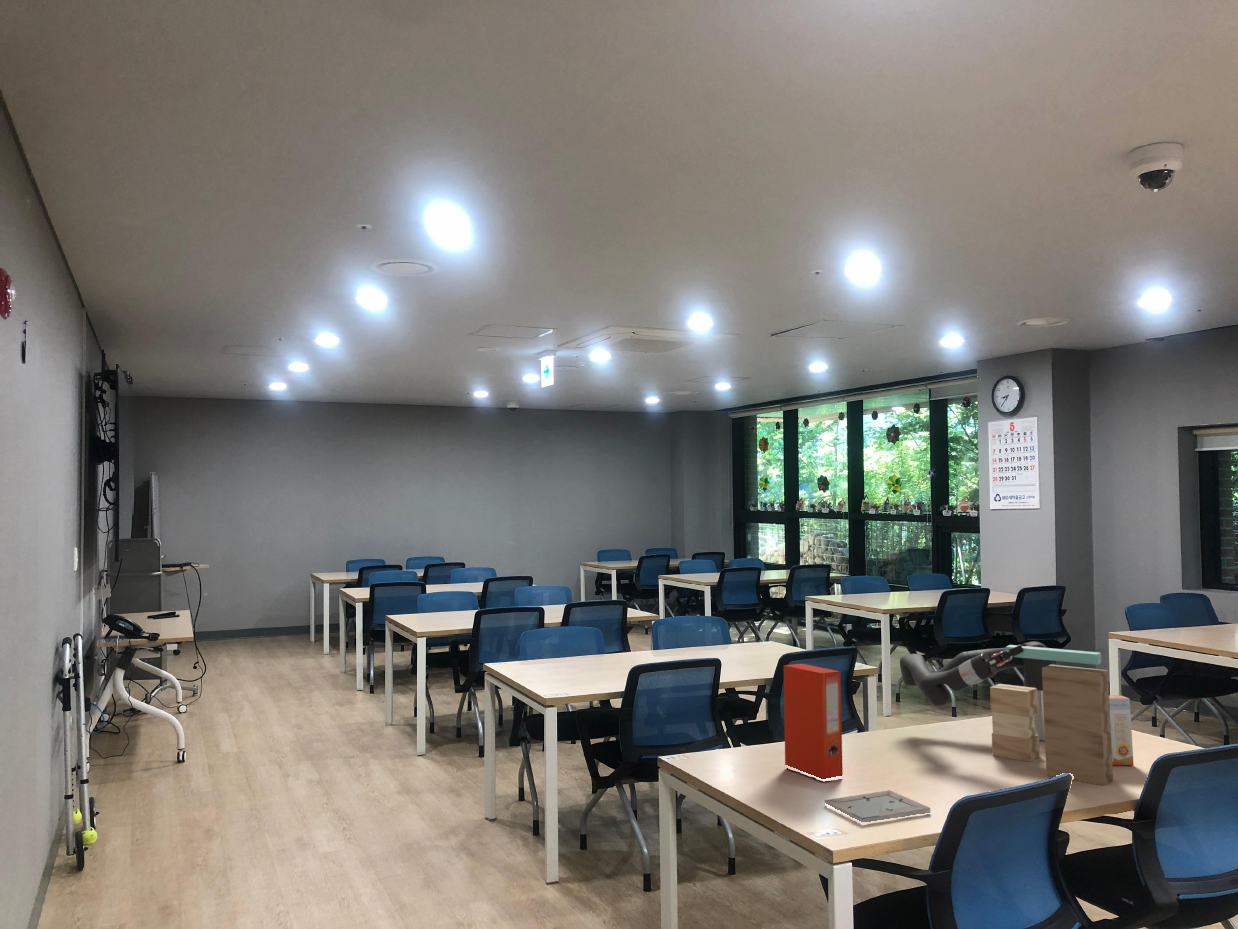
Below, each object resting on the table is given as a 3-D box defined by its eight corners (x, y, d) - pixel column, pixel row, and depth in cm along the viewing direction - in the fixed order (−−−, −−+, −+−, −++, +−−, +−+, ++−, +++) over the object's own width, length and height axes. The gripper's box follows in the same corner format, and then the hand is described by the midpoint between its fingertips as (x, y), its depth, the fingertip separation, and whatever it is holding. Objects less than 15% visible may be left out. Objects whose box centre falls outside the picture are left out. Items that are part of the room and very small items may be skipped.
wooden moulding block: (1055, 769, 271) (1051, 664, 273) (1113, 780, 260) (1107, 670, 262) (1046, 775, 266) (1041, 667, 268) (1104, 786, 254) (1099, 673, 257)
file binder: (805, 765, 279) (802, 663, 281) (843, 779, 264) (840, 671, 266) (785, 769, 275) (782, 665, 278) (822, 783, 260) (820, 673, 262)
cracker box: (1125, 761, 280) (1121, 694, 281) (1134, 766, 274) (1131, 698, 275) (1079, 760, 281) (1076, 694, 283) (1087, 765, 275) (1084, 697, 277)
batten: (1010, 654, 281) (1010, 644, 281) (1101, 662, 264) (1100, 652, 264) (1006, 656, 278) (1006, 646, 278) (1098, 664, 261) (1097, 654, 261)
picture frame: (862, 828, 224) (930, 816, 231) (862, 818, 224) (930, 807, 232) (824, 808, 239) (889, 798, 247) (824, 799, 239) (889, 789, 247)
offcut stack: (1002, 750, 295) (999, 683, 296) (1039, 757, 286) (1036, 688, 288) (992, 755, 289) (989, 687, 290) (1030, 762, 280) (1027, 691, 282)
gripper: (990, 676, 290) (1038, 654, 280) (975, 684, 279) (1024, 661, 270) (978, 655, 292) (1024, 633, 283) (962, 662, 282) (1010, 639, 272)
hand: (1024, 647), depth 276 cm, fingers closed on batten, 4 cm apart
